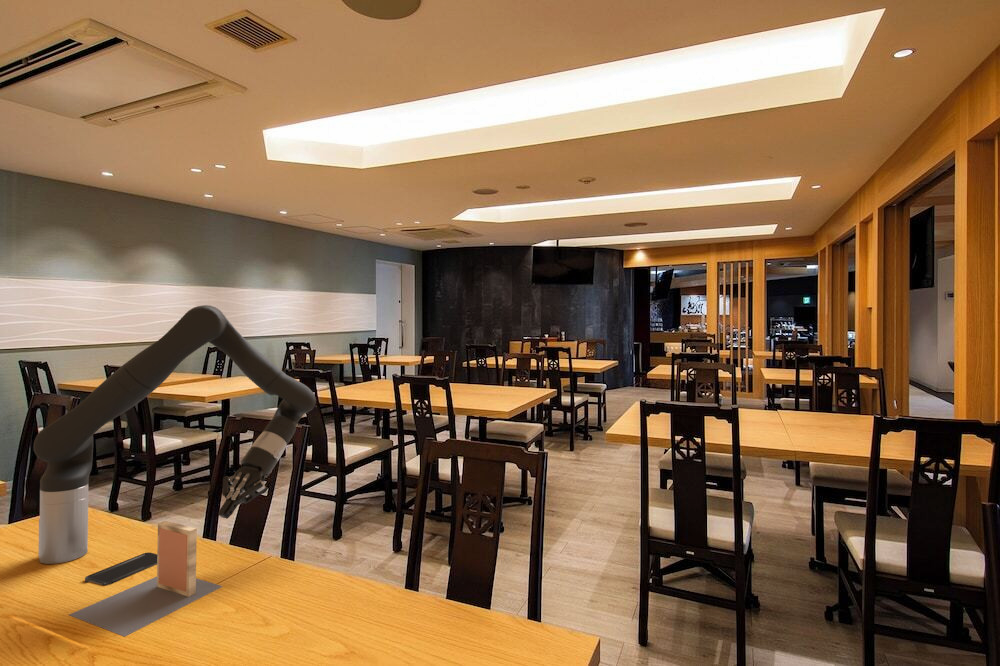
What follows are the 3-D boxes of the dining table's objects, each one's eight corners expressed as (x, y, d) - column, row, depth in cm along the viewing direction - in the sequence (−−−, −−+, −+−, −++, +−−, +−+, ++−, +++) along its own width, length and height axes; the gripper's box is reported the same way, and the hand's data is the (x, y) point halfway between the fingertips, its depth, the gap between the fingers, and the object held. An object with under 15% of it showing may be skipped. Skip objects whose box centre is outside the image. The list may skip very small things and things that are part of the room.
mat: (68, 616, 106) (68, 614, 106) (170, 572, 125) (170, 570, 125) (124, 638, 99) (124, 636, 99) (223, 588, 118) (223, 586, 118)
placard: (156, 587, 117) (156, 523, 117) (164, 583, 119) (164, 520, 119) (187, 597, 113) (188, 531, 113) (195, 593, 115) (196, 528, 115)
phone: (82, 577, 120) (147, 551, 134) (82, 582, 120) (147, 556, 134) (106, 584, 117) (170, 557, 131) (106, 590, 117) (170, 561, 131)
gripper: (237, 442, 138) (192, 504, 127) (276, 448, 133) (233, 513, 122) (253, 458, 143) (212, 519, 132) (292, 464, 138) (252, 528, 127)
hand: (222, 516), depth 127 cm, fingers closed
